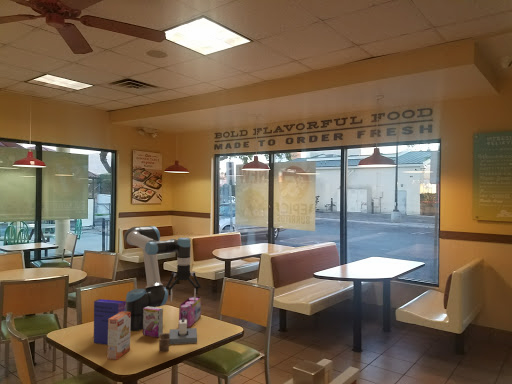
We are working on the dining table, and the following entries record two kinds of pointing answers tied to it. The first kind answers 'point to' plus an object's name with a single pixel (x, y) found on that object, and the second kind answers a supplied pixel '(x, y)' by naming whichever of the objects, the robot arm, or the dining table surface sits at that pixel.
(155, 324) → the candy bar box
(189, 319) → the gum box
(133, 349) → the dining table surface
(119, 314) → the cracker box
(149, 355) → the dining table surface
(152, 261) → the robot arm
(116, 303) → the cereal box
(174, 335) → the port block
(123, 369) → the dining table surface
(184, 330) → the plug
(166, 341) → the holster
